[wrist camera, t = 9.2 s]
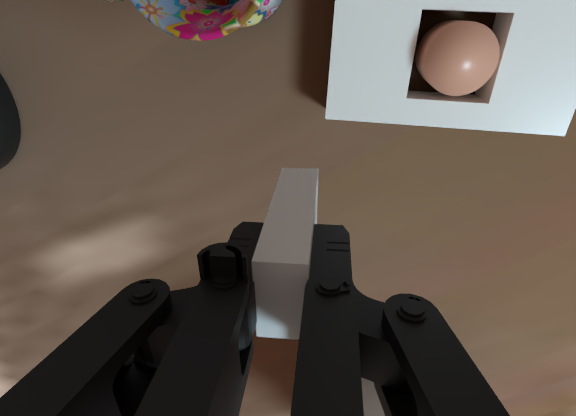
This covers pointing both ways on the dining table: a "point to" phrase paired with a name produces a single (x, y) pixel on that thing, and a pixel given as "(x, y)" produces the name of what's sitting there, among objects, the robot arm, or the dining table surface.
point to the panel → (467, 108)
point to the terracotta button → (457, 56)
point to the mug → (204, 16)
